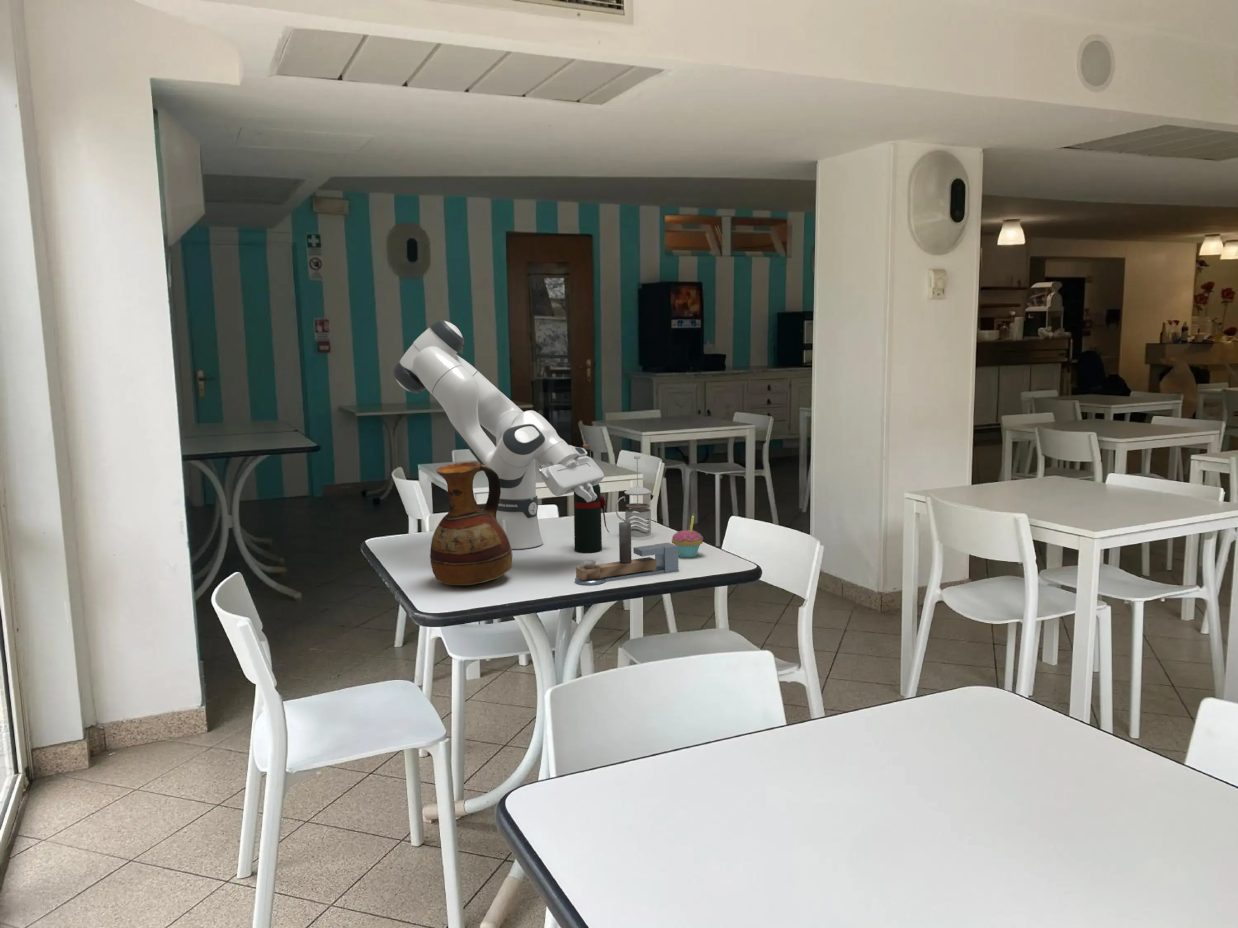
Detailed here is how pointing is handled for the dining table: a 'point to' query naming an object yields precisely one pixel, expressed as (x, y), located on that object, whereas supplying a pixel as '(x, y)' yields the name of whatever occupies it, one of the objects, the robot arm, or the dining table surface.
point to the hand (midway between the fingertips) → (592, 499)
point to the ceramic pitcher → (469, 531)
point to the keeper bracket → (663, 554)
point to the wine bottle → (588, 520)
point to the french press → (644, 513)
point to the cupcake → (687, 541)
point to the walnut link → (617, 568)
